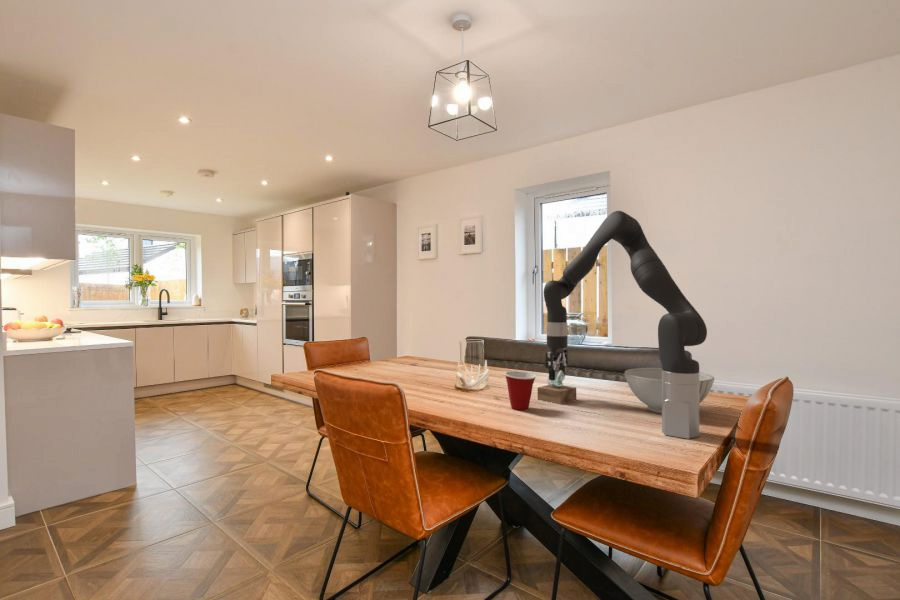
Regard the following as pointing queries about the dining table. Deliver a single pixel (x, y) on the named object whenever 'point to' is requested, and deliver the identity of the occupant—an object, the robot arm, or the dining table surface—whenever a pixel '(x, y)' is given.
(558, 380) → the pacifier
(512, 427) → the dining table surface
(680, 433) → the robot arm
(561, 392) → the walnut block
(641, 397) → the decorative bowl
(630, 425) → the dining table surface
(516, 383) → the plastic cup
